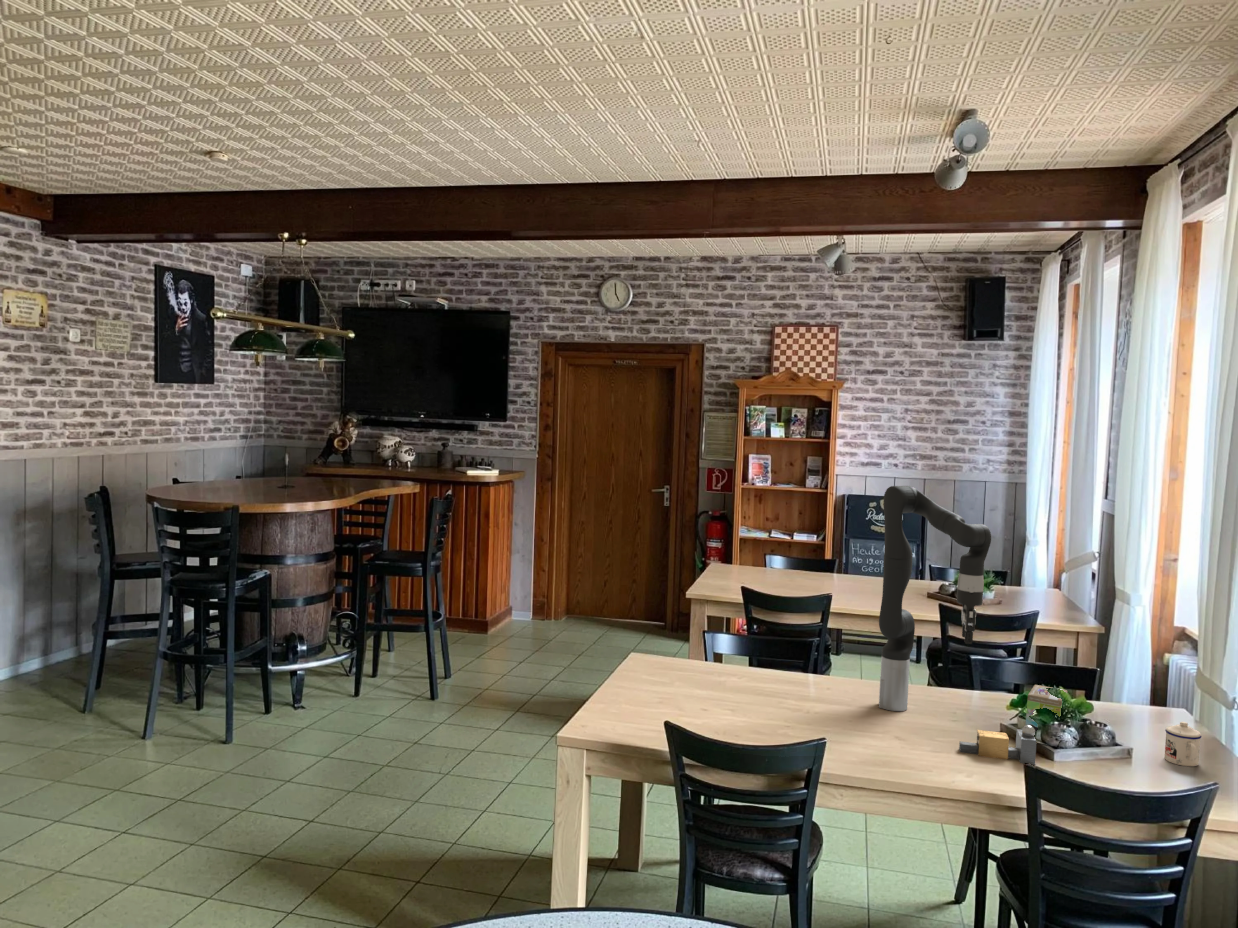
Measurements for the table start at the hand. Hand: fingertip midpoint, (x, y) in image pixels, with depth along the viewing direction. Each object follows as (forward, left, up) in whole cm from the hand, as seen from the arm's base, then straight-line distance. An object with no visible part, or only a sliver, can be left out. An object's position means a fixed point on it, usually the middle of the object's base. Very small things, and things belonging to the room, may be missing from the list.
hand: (967, 640), depth 289 cm
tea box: (+25, +7, -30) cm, 40 cm away
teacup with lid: (+61, -2, -30) cm, 68 cm away
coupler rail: (+8, -15, -30) cm, 34 cm away
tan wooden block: (+7, -15, -30) cm, 34 cm away
